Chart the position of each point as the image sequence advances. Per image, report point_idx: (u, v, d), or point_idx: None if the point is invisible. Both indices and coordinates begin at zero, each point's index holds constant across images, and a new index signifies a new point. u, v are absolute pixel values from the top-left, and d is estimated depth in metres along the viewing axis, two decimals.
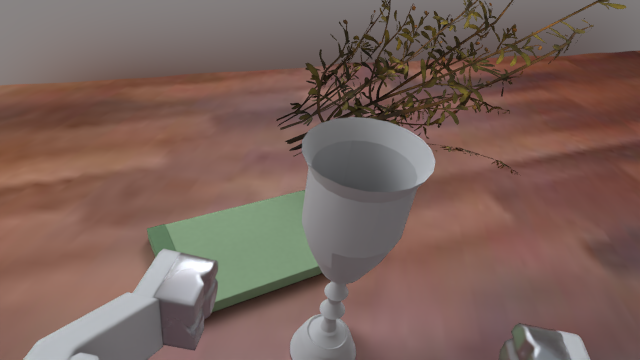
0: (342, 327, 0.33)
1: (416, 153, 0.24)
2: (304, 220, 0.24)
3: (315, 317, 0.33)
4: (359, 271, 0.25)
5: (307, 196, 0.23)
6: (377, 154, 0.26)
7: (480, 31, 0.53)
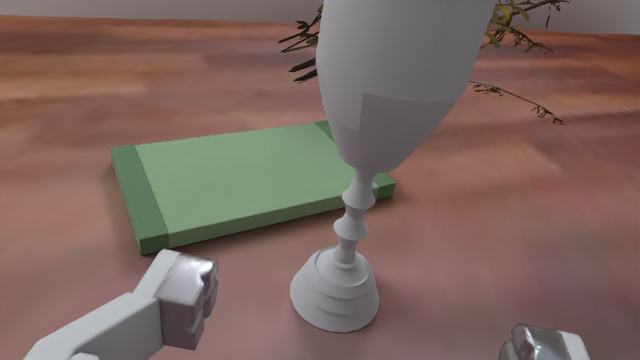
0: (362, 262, 0.24)
1: None
2: (320, 53, 0.16)
3: (325, 249, 0.24)
4: (401, 138, 0.16)
5: (326, 5, 0.15)
6: None
7: None
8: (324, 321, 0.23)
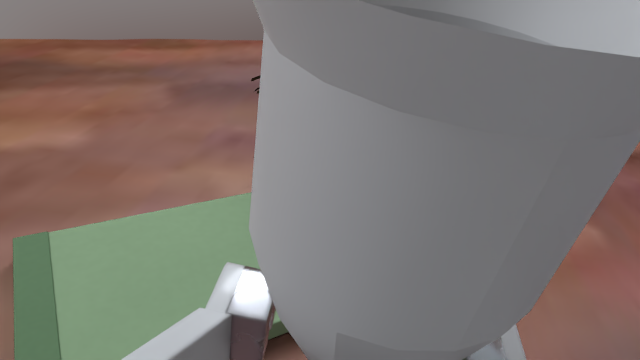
0: None
1: (597, 24, 0.08)
2: (253, 220, 0.08)
3: None
4: None
5: (259, 138, 0.07)
6: None
7: None
8: None
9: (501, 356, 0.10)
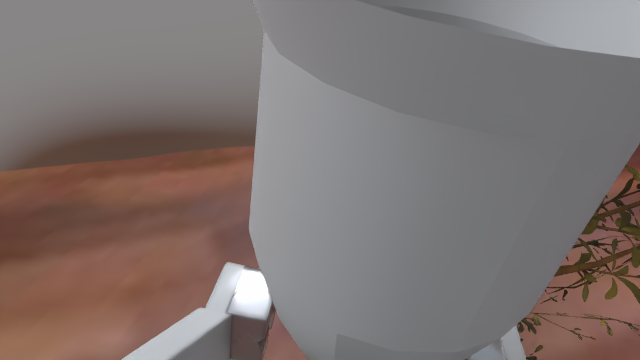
0: None
1: (597, 25, 0.08)
2: (253, 221, 0.08)
3: None
4: None
5: (259, 139, 0.07)
6: None
7: None
8: None
9: (501, 356, 0.10)
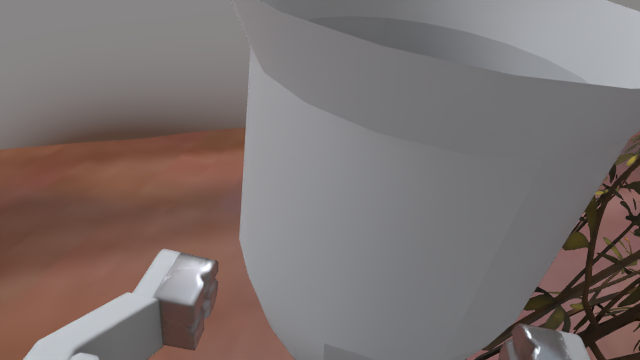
0: None
1: (581, 37, 0.08)
2: (243, 232, 0.08)
3: None
4: None
5: (248, 152, 0.07)
6: None
7: None
8: None
9: None
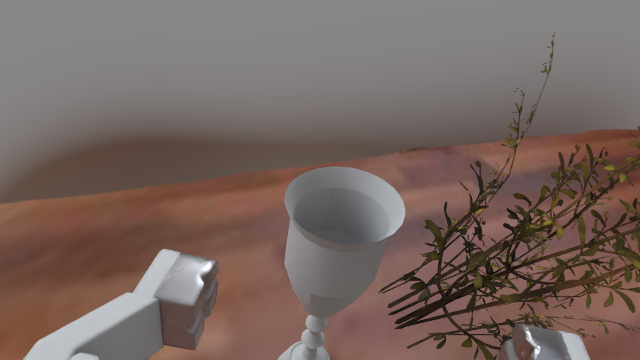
0: (322, 354, 0.35)
1: (389, 202, 0.27)
2: (286, 261, 0.27)
3: (297, 344, 0.35)
4: (336, 308, 0.27)
5: (289, 241, 0.26)
6: (355, 200, 0.29)
7: (637, 164, 0.41)
8: None
9: None
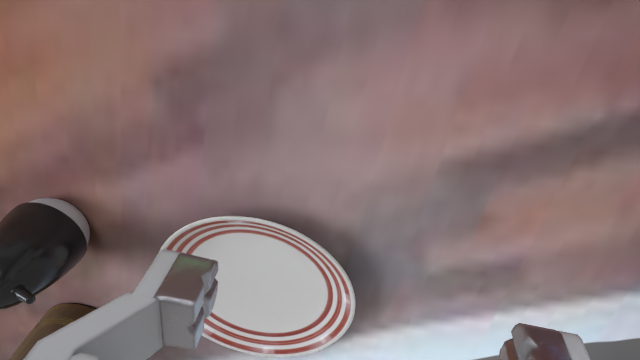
0: None
1: None
2: None
3: None
4: None
5: None
6: None
7: None
8: None
9: None
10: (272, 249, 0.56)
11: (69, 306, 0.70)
